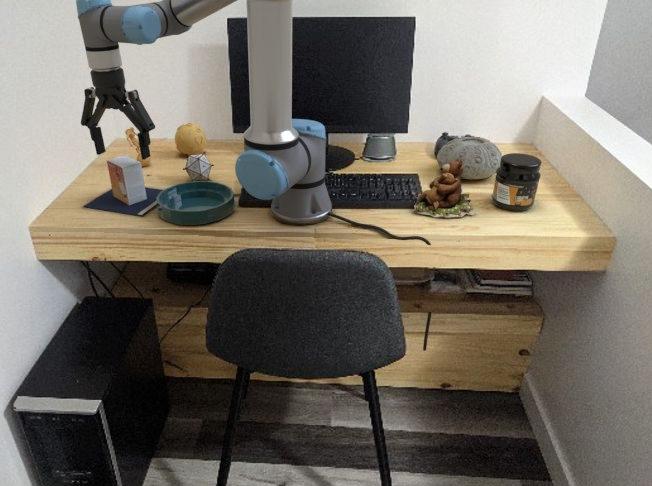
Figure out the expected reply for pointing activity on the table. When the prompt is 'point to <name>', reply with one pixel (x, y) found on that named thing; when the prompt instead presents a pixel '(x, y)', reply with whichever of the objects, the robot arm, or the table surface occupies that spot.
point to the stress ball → (190, 139)
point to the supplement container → (516, 181)
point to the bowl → (195, 202)
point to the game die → (198, 167)
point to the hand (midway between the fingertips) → (123, 155)
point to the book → (116, 205)
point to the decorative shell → (471, 156)
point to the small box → (127, 179)
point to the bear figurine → (445, 194)
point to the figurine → (131, 135)
